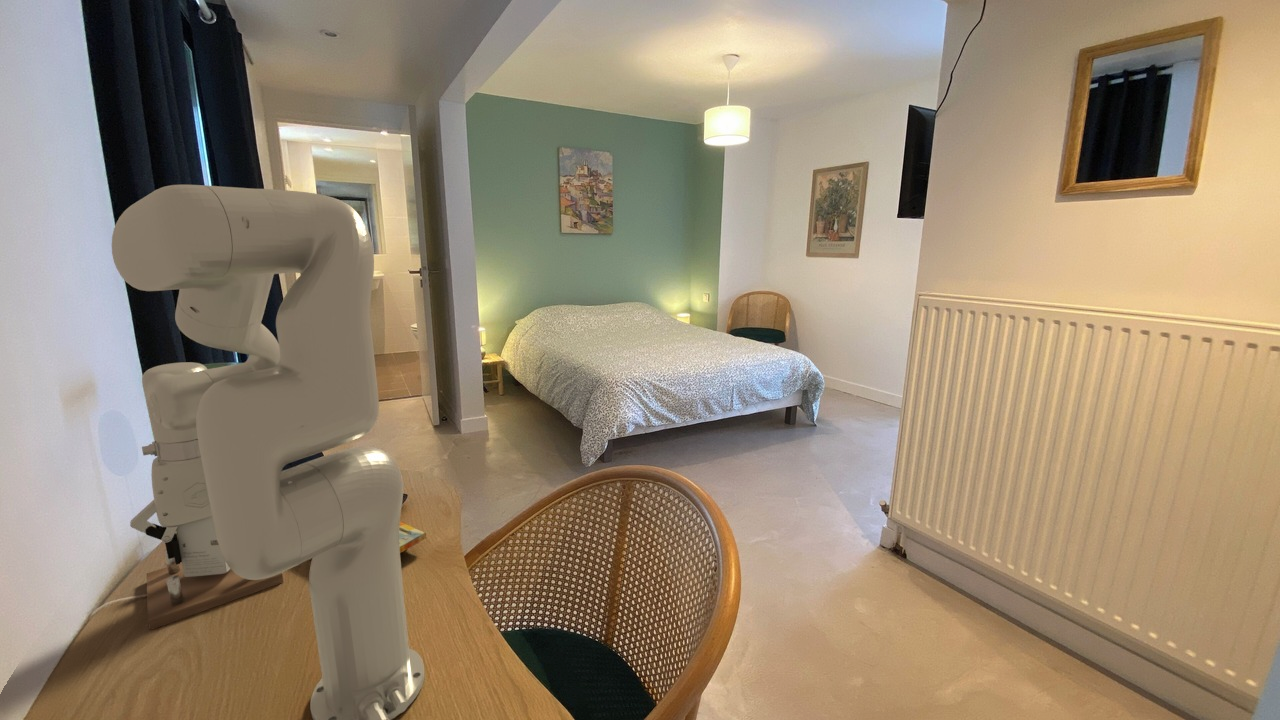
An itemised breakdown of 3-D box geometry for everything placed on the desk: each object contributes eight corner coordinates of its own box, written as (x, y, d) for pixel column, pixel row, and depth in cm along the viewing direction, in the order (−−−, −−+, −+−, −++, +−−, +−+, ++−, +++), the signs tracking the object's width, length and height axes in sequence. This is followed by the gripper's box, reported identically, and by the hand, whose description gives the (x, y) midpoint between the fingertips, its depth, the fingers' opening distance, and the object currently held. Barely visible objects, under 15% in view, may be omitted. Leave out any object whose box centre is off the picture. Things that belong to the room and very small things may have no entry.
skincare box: (183, 578, 82) (167, 507, 79) (199, 561, 86) (185, 493, 83) (228, 573, 83) (215, 503, 81) (242, 556, 88) (230, 489, 85)
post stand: (283, 582, 86) (278, 552, 85) (149, 629, 75) (142, 596, 74) (268, 544, 96) (263, 516, 95) (148, 581, 85) (141, 551, 84)
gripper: (108, 470, 72) (135, 585, 76) (263, 438, 83) (280, 540, 87) (110, 452, 77) (135, 561, 81) (256, 425, 88) (271, 521, 93)
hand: (210, 549), depth 84 cm, fingers closed on skincare box, 7 cm apart
